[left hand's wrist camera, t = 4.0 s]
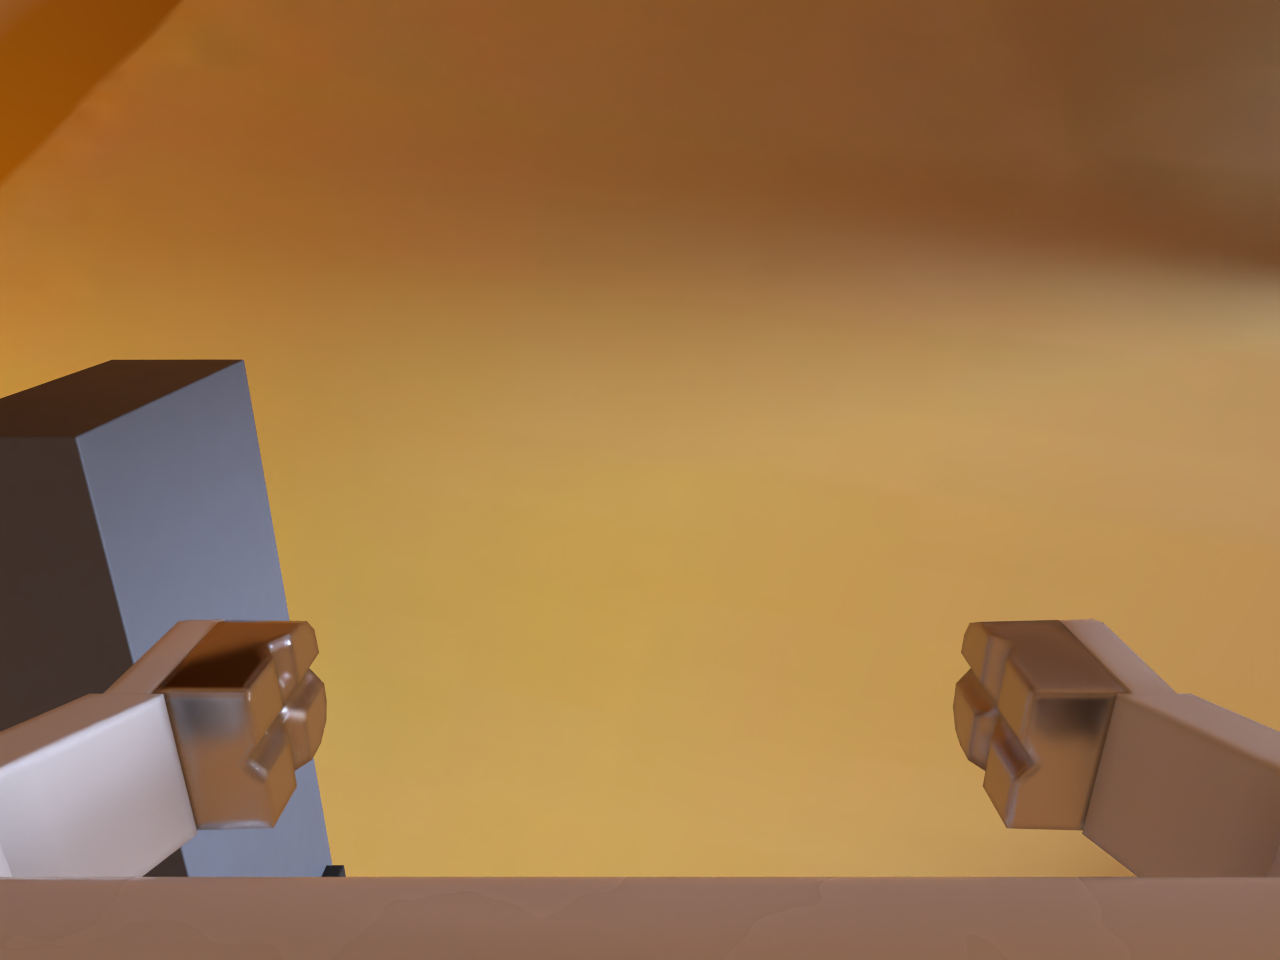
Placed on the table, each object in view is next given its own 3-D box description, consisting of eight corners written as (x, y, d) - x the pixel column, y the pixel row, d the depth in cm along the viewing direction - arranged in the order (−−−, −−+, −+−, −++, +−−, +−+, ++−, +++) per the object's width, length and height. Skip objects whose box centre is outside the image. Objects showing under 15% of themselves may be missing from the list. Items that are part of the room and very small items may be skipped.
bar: (111, 359, 28) (-114, 437, 19) (244, 359, 28) (76, 437, 19) (245, 935, 37) (131, 1153, 29) (345, 934, 37) (260, 1153, 29)
